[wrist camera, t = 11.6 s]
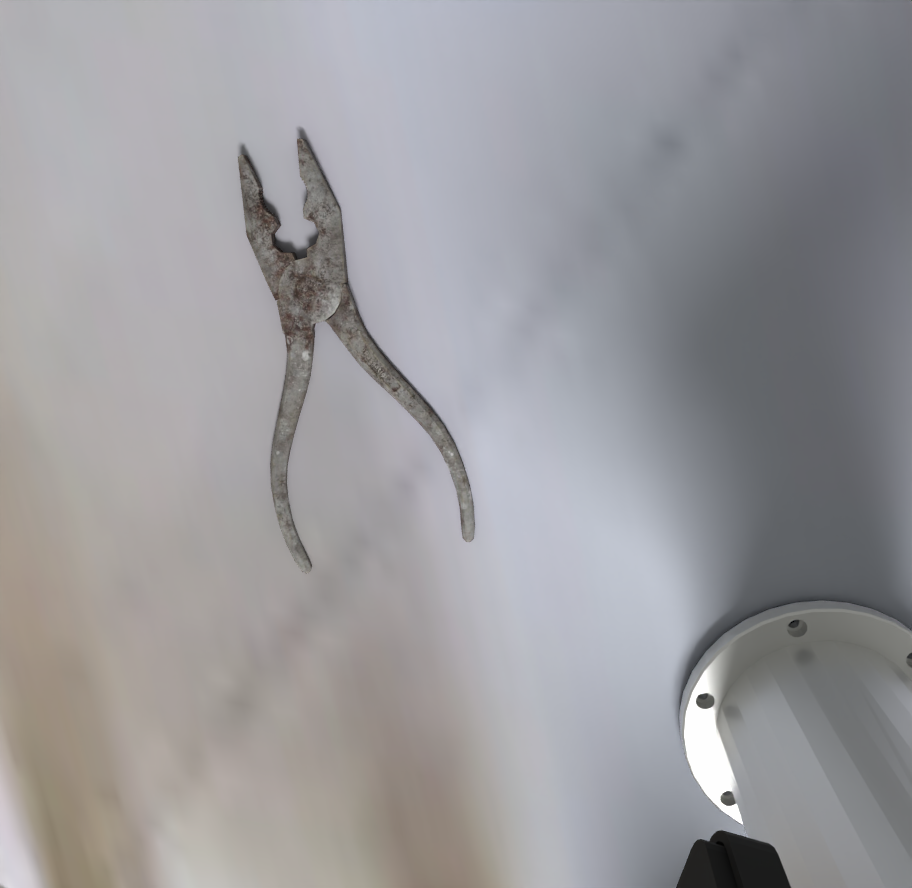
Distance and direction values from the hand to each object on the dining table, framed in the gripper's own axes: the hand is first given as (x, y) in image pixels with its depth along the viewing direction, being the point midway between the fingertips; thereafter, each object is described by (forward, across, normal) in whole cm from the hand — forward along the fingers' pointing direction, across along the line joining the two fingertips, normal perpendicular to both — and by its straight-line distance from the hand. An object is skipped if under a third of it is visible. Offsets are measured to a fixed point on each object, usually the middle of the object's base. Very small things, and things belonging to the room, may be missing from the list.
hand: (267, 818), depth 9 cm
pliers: (+29, +7, +2) cm, 30 cm away
